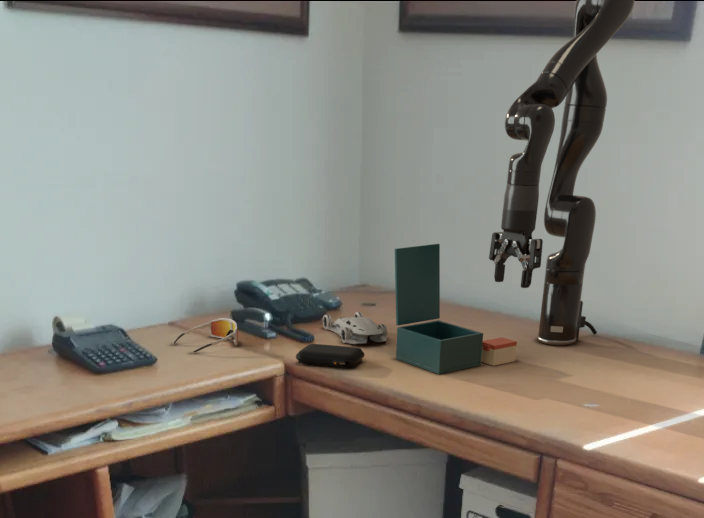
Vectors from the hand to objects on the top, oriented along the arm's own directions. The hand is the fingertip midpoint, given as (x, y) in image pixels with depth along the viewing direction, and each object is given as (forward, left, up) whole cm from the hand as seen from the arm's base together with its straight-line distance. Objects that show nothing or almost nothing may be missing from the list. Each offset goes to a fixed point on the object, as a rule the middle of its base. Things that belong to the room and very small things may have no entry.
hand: (511, 284), depth 215 cm
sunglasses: (+53, -50, -16) cm, 74 cm away
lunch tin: (+17, -5, -16) cm, 24 cm away
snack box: (+5, +2, -16) cm, 17 cm away
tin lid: (+17, -13, 0) cm, 21 cm away
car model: (+18, -36, -16) cm, 43 cm away
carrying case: (+38, -19, -16) cm, 45 cm away
